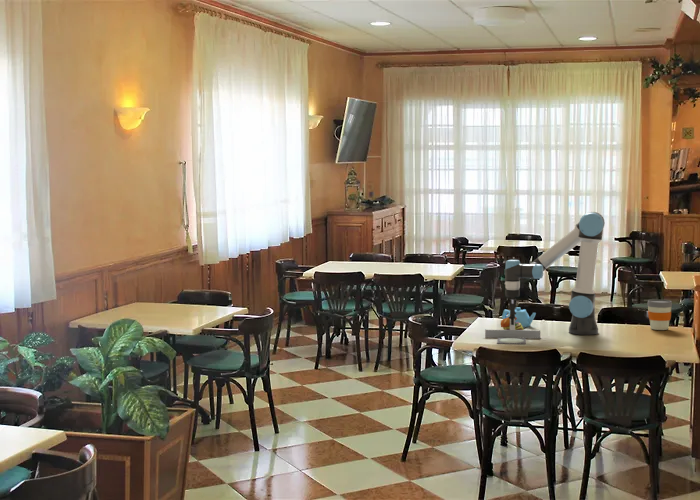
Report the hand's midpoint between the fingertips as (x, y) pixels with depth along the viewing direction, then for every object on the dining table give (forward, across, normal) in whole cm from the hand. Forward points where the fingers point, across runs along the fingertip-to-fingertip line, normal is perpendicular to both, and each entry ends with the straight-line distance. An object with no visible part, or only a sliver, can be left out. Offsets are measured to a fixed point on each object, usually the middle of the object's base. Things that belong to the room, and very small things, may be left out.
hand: (512, 328), depth 441 cm
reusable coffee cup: (+2, -24, +78) cm, 82 cm away
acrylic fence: (+3, +12, 0) cm, 12 cm away
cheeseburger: (+3, 0, +1) cm, 3 cm away
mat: (+3, +23, 0) cm, 23 cm away
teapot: (+3, -24, +3) cm, 24 cm away
